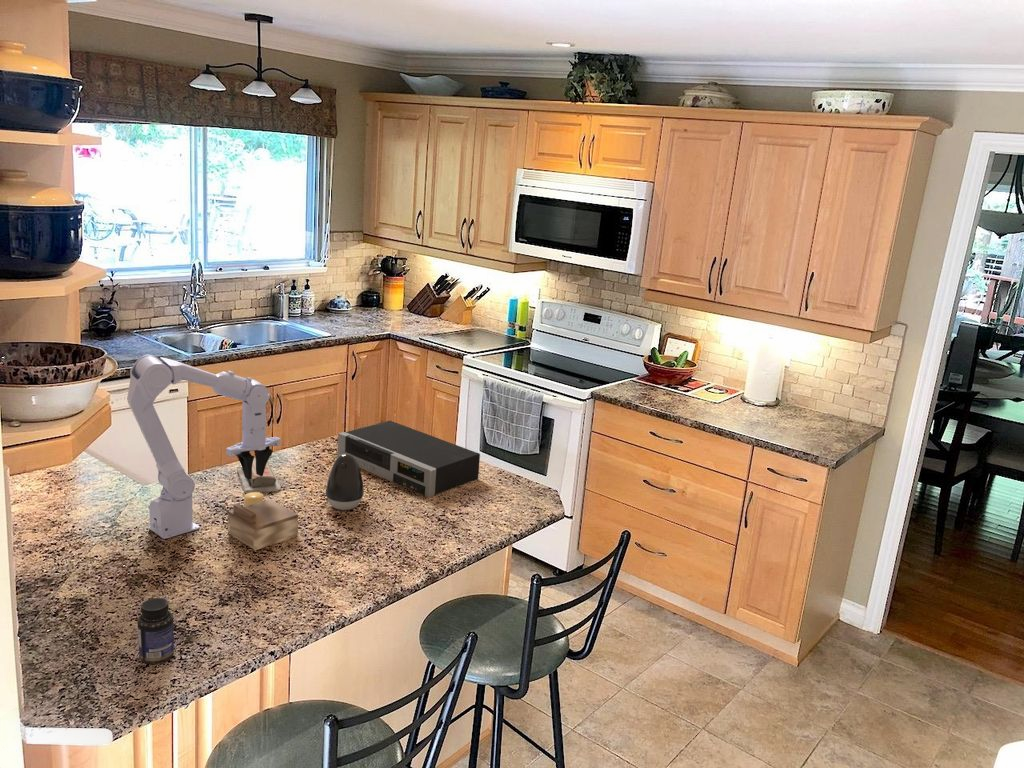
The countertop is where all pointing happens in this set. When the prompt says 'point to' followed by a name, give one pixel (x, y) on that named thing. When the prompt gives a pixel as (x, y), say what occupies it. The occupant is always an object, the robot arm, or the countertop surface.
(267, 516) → the lid
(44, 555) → the countertop surface
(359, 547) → the countertop surface
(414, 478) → the vcr player
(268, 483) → the packaged product
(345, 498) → the black egg-shaped device
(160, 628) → the pill bottle
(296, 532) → the wooden box
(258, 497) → the cream bullet-shaped knob
